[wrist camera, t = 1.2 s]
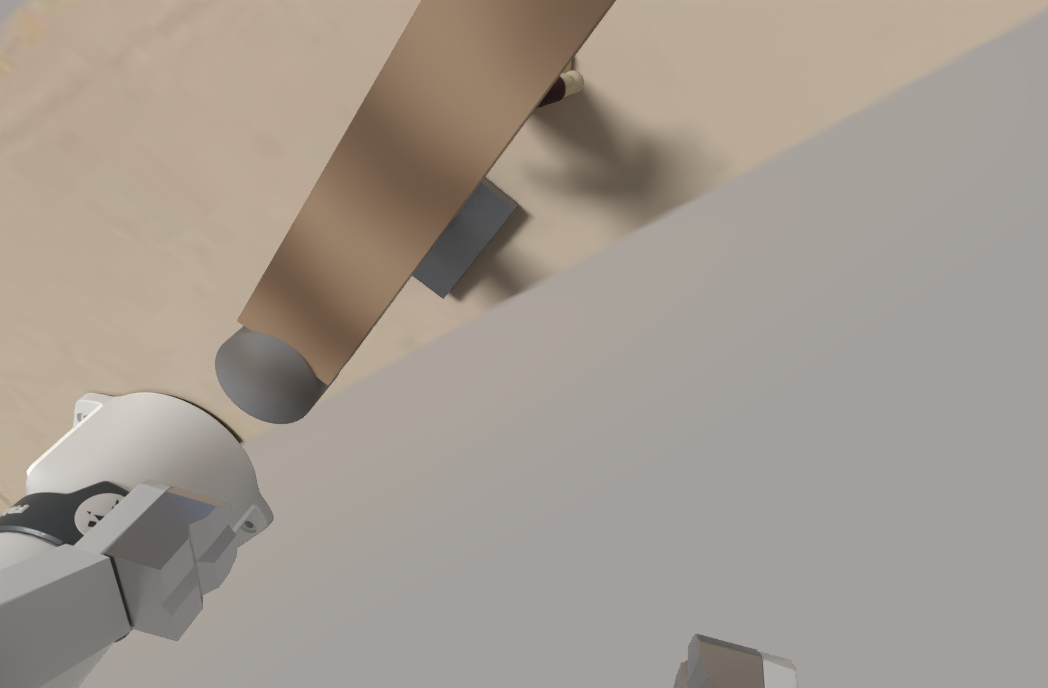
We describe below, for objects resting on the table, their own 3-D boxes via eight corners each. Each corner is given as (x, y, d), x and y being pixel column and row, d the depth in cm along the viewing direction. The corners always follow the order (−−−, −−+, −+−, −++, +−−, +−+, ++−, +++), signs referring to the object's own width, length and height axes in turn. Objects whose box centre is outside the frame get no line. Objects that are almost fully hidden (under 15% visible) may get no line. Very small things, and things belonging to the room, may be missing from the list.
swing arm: (315, 406, 29) (287, 440, 27) (235, 350, 28) (200, 381, 26) (639, -31, 18) (633, -29, 16) (524, -136, 18) (503, -147, 16)
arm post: (447, 292, 45) (336, 454, 30) (348, 216, 43) (182, 348, 29) (518, 204, 41) (427, 342, 26) (410, 117, 39) (254, 213, 25)
